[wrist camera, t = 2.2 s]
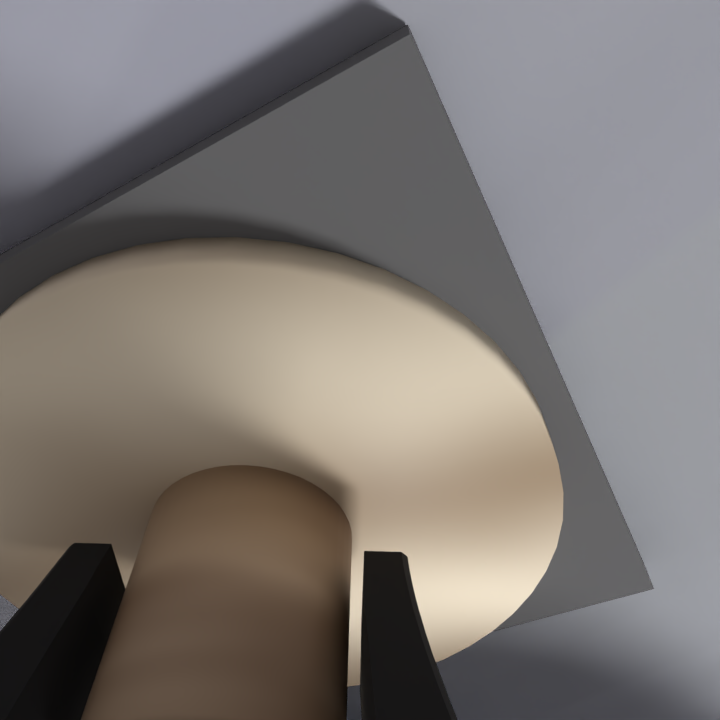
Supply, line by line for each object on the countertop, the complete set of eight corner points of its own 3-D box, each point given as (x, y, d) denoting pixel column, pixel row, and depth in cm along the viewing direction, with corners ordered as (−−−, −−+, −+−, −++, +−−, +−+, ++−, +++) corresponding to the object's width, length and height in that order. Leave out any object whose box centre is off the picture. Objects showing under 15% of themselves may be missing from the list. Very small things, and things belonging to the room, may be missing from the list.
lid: (623, 580, 14) (720, 855, 10) (195, 697, 17) (144, 939, 13) (388, 93, 8) (400, 295, 4) (-189, 406, 11) (-479, 684, 8)
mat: (644, 564, 14) (653, 588, 14) (195, 688, 18) (190, 711, 17) (407, 25, 8) (409, 34, 8) (-210, 373, 12) (-235, 394, 11)
